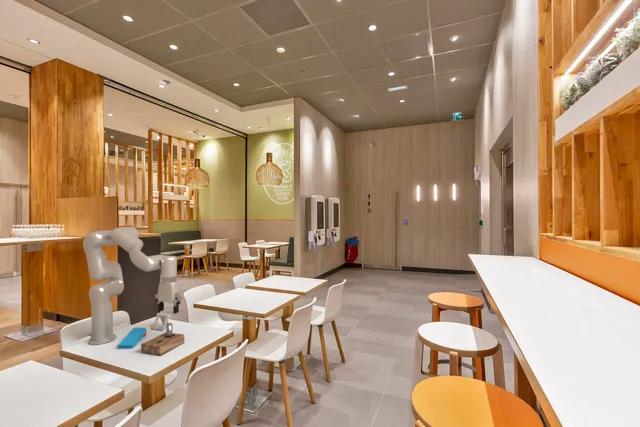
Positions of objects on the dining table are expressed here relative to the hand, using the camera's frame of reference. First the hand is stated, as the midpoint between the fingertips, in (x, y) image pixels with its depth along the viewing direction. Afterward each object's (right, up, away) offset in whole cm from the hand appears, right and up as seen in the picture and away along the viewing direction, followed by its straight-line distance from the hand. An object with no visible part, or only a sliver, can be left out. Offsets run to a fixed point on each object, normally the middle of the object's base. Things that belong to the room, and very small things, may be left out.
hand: (168, 312), depth 162 cm
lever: (-20, -18, +4) cm, 27 cm away
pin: (+1, -16, 0) cm, 16 cm away
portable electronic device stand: (-16, -18, +24) cm, 34 cm away
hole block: (-1, -17, -4) cm, 18 cm away
